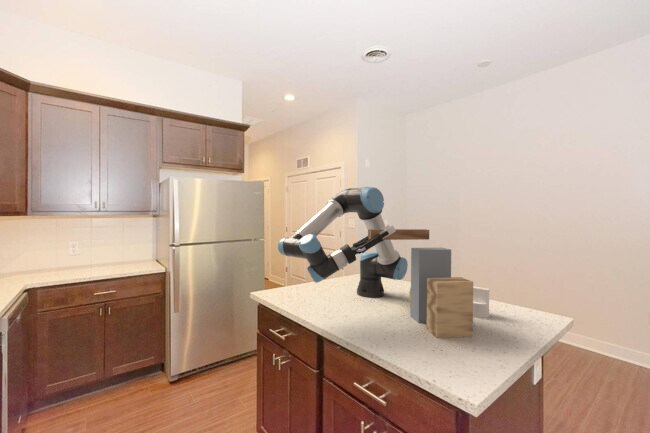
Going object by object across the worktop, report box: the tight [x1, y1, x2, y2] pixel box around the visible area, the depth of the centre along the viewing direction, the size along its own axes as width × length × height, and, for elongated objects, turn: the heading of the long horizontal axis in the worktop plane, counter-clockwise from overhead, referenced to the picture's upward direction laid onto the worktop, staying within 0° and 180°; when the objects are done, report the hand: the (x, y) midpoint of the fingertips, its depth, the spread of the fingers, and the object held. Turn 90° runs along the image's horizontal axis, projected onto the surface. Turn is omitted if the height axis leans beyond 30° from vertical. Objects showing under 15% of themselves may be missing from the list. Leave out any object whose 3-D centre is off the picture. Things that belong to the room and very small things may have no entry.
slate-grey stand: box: [410, 247, 452, 324], centre depth 129 cm, size 8×14×30 cm, turn 98°
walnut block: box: [367, 228, 430, 241], centre depth 126 cm, size 4×25×4 cm, turn 97°
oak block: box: [426, 276, 474, 339], centre depth 114 cm, size 8×14×20 cm, turn 98°
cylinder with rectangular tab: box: [473, 285, 490, 319], centre depth 135 cm, size 9×9×12 cm
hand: (392, 227), depth 126 cm, fingers closed on walnut block, 4 cm apart
